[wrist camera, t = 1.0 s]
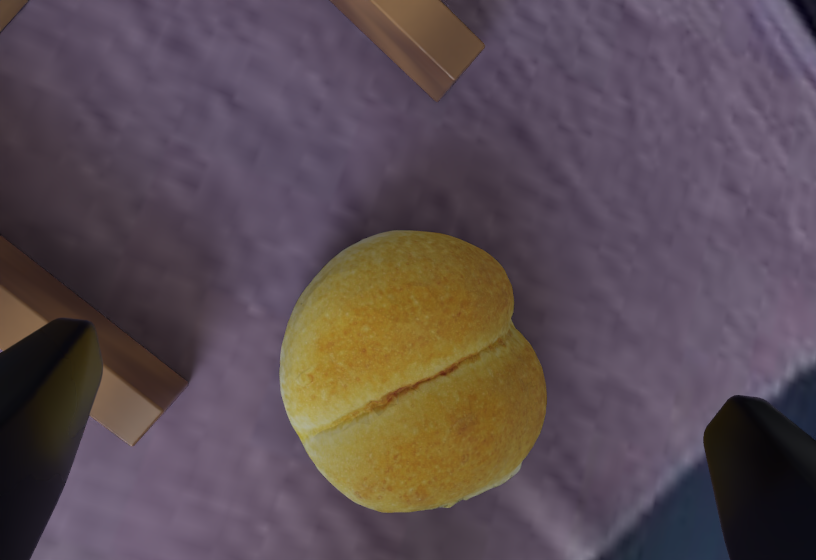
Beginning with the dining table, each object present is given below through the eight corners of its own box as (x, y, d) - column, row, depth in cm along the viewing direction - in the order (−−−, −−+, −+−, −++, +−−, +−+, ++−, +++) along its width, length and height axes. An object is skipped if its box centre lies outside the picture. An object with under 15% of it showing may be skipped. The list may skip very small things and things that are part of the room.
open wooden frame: (464, 72, 20) (507, 20, 15) (162, 414, 20) (103, 479, 15) (155, -229, 18) (86, -403, 13) (-184, 149, 18) (-386, 119, 13)
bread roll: (468, 196, 20) (501, 188, 16) (554, 430, 21) (604, 476, 17) (238, 285, 19) (215, 300, 15) (340, 522, 21) (342, 593, 17)
